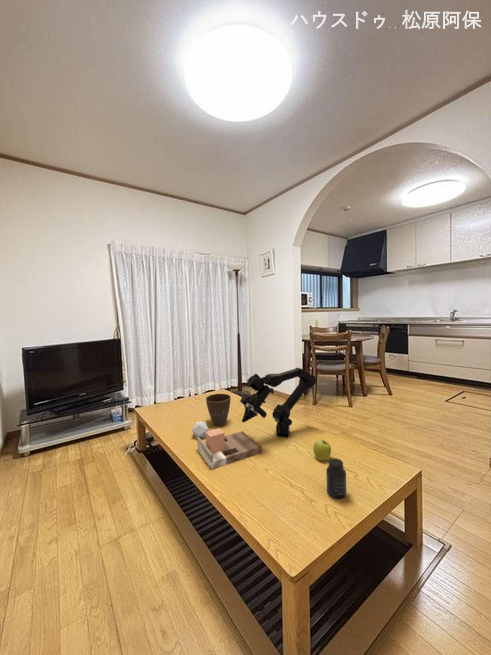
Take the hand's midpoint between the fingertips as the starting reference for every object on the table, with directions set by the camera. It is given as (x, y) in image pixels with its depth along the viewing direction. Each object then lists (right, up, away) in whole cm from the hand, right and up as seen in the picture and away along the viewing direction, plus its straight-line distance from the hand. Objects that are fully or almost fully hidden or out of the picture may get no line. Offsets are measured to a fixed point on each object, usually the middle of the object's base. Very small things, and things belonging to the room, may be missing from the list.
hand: (242, 421), depth 130 cm
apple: (+36, -12, -12) cm, 40 cm away
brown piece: (-6, -13, -3) cm, 15 cm away
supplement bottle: (+34, -14, -35) cm, 51 cm away
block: (-13, -10, -7) cm, 18 cm away
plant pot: (-14, -11, +29) cm, 34 cm away
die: (-23, -13, +13) cm, 29 cm away
